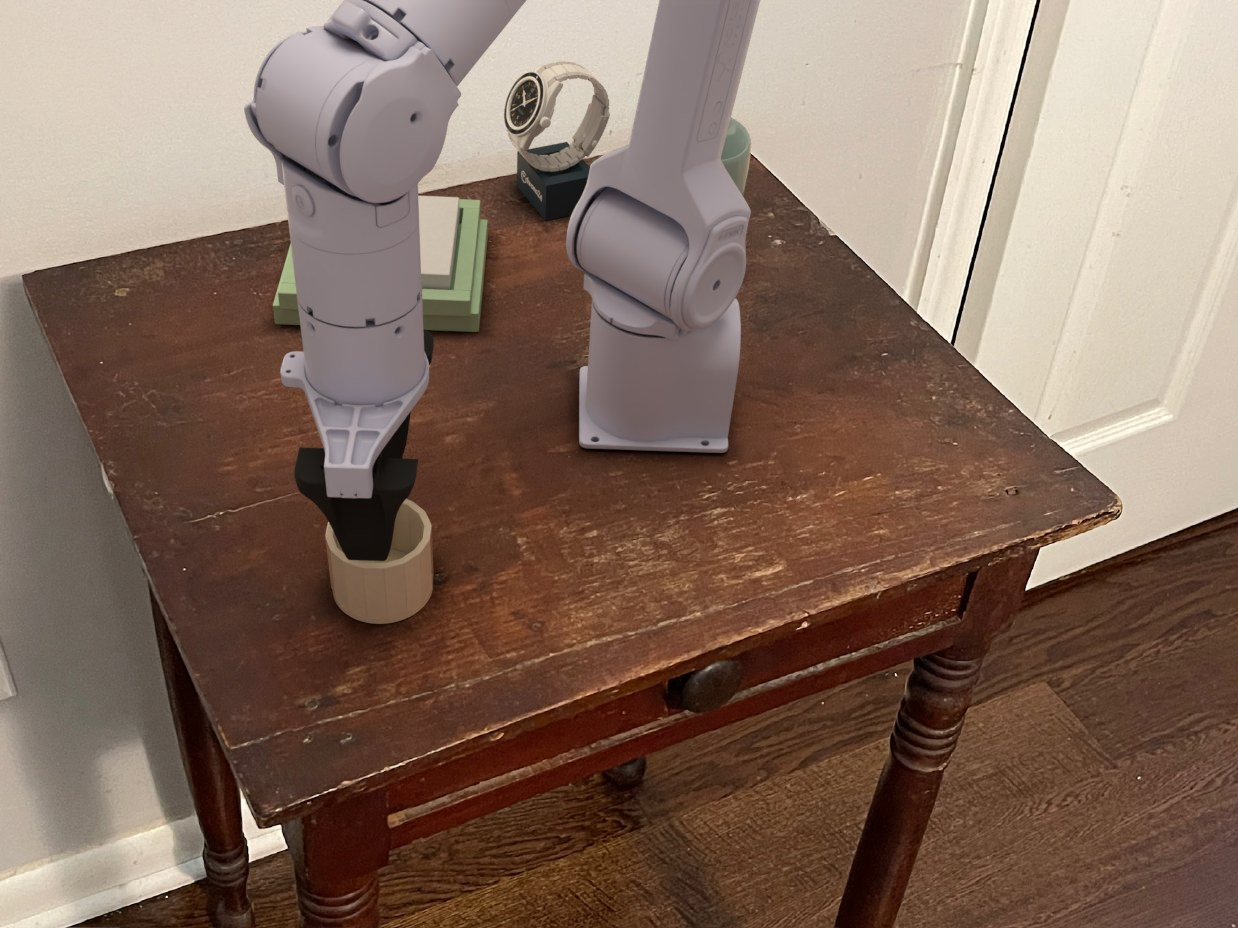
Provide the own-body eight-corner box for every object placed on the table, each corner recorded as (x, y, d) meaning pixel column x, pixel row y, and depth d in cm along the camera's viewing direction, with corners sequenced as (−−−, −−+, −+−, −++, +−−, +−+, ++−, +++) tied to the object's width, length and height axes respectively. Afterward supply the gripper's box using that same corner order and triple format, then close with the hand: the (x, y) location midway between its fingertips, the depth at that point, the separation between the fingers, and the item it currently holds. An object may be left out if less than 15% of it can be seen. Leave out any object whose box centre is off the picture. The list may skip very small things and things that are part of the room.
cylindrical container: (437, 552, 78) (434, 496, 75) (428, 625, 74) (426, 569, 71) (339, 549, 78) (333, 492, 75) (326, 622, 74) (318, 566, 71)
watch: (494, 190, 108) (494, 61, 101) (585, 172, 111) (591, 45, 104) (522, 226, 104) (524, 95, 97) (615, 206, 107) (624, 77, 100)
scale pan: (460, 215, 100) (459, 197, 99) (450, 293, 93) (449, 274, 92) (323, 209, 100) (322, 190, 99) (303, 287, 92) (300, 268, 91)
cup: (738, 285, 100) (755, 166, 94) (633, 279, 100) (643, 159, 93) (732, 228, 106) (749, 112, 99) (633, 222, 106) (643, 105, 99)
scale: (488, 234, 103) (487, 200, 101) (478, 336, 94) (478, 301, 92) (302, 226, 103) (298, 191, 100) (273, 328, 93) (269, 292, 91)
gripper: (296, 204, 68) (319, 412, 77) (243, 387, 57) (276, 603, 66) (438, 211, 68) (444, 416, 77) (411, 393, 57) (421, 607, 67)
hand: (375, 503), depth 72 cm, fingers open, 7 cm apart
